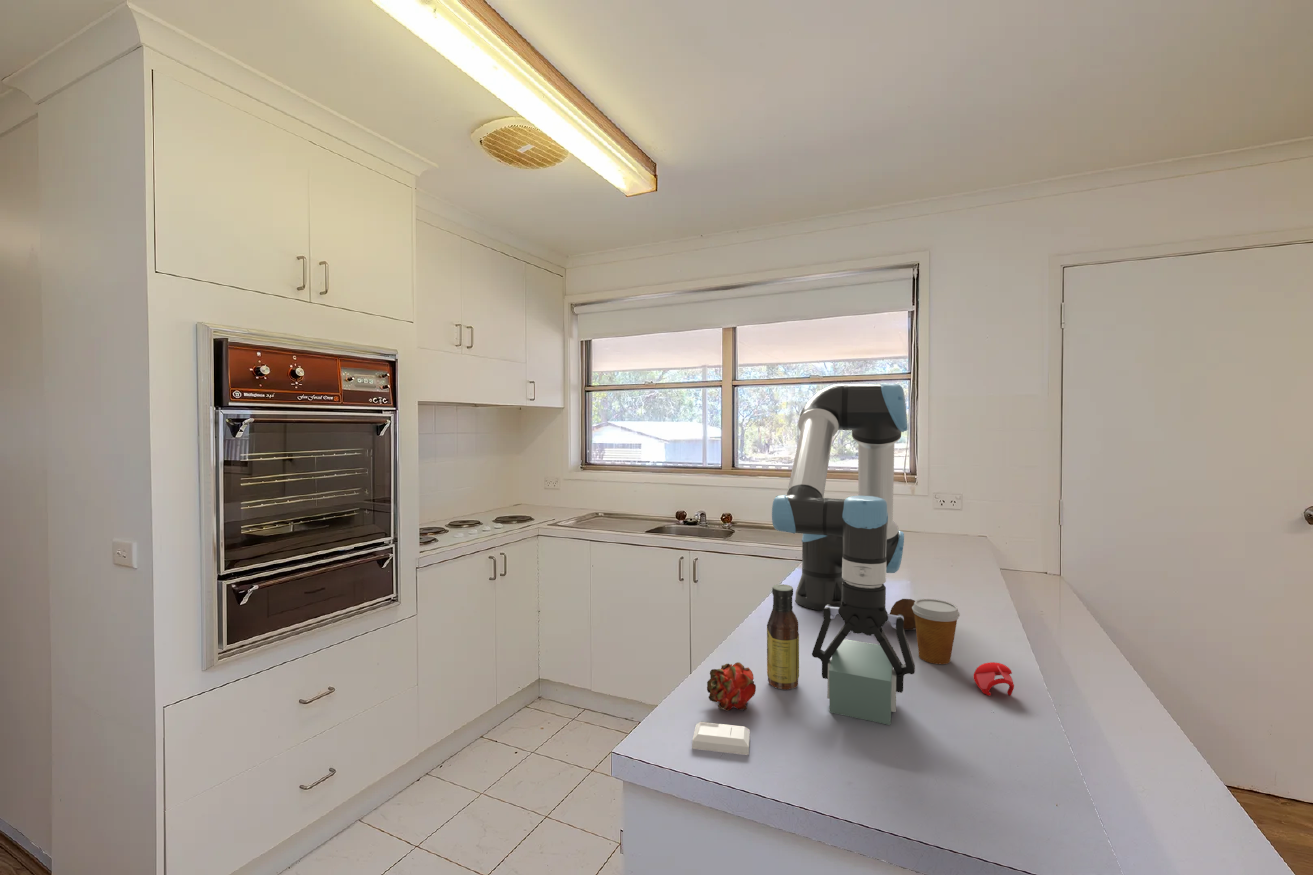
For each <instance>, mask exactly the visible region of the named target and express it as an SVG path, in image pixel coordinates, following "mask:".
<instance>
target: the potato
mask: <svg viewBox="0 0 1313 875" xmlns="http://www.w3.org/2000/svg"><path fill="white" fill-rule="evenodd" d="M915 601H916V600H915V599H911V598H901V599H899V600H897V601H895V602H894V604H893V605H892V607H891V609H890V611H889V614H891V615H898V614H902V615H903V616H904V626H903V628H904V631H913V630H916V625H915V615H914V612H913V610H912V606H913V605H914V602H915Z"/></svg>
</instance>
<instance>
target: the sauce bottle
mask: <svg viewBox="0 0 1313 875" xmlns="http://www.w3.org/2000/svg"><path fill="white" fill-rule="evenodd" d="M771 588H772V589H771V590H772V591H771V592H772V596H773V597H772V601H773V602H772V603H773V604H772V609H771V612H770V616H769V618H768V621H767V624H766V670H767V671H766V674H767V681H768V684H769V685H770V686H772V687H773V688H775V689H778V690H783V691H789V690H794V689H795V688H797V687H798V686H799V679H800V678H799V677H800V633H799V621H798V617H797V616H796V614H795V612H794V611H793V607H794V606H793V596H794V587H792V585H788V584H774V585H773V586H772V587H771Z"/></svg>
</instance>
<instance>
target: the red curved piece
mask: <svg viewBox="0 0 1313 875" xmlns="http://www.w3.org/2000/svg"><path fill="white" fill-rule="evenodd" d="M1012 674H1013V672H1012V669H1010V667H1009V666H1006V665H1005V664H1003V663H1000V662H986V663H985V662H984V663H982V664H980V665H979V666H977V667H976V669H975V671H974V673H973V676H972V678H973V680H974V684H976V686H977V687H978V688H979V689H980V691H981V692H982V694H984V695H986V696H989V697H991V696H992V693H991V691H990V690H991V689H992V687H994V686H997V685H1000V684H1007V685H1008V689H1007V692H1006V693H1007V695H1008V696H1011V695H1012V693H1013V691H1014V690H1015V689H1014V688H1015V684H1014V682H1013V678H1012V676H1011V675H1012ZM996 676H1002V677H1001V678H996Z"/></svg>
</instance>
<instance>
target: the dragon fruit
mask: <svg viewBox="0 0 1313 875" xmlns="http://www.w3.org/2000/svg"><path fill="white" fill-rule="evenodd" d="M709 675H710V678H709V679H708V680H707V682H706V685H707V686H706V690H707V693H709V695H708V699H709V701H710V702H713V703H718V705H717V707H718V709H721V710H724V711H725V712H728V711H731V710H732V708H735V709H737V710H742V711H746V710H747V704H748V702H749V701H750V700H751V699H752V698H753V697H754V696H755V694H756V691H757V689H756V688H757V687H756V684H755V680H754V679H755V678H754V674H753V670H751V669H750V667H745V666H744V665H743V664H742V663H741V662H739V661H738V662H735V663H734V664H732V663H725V664H723V665H721V668H717V669H715V668H714V669H711V670H710V671H709Z"/></svg>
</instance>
